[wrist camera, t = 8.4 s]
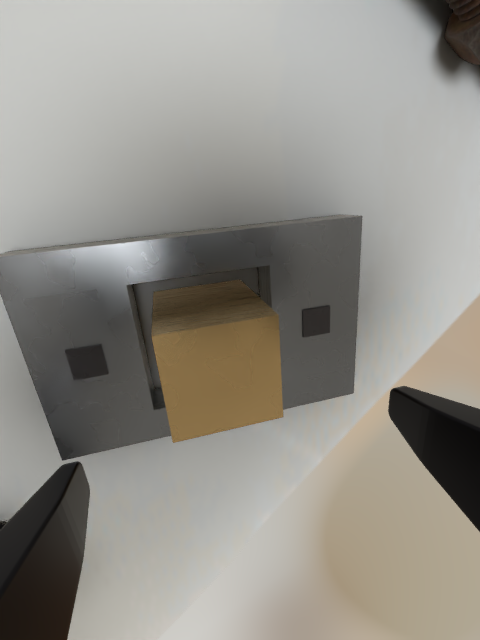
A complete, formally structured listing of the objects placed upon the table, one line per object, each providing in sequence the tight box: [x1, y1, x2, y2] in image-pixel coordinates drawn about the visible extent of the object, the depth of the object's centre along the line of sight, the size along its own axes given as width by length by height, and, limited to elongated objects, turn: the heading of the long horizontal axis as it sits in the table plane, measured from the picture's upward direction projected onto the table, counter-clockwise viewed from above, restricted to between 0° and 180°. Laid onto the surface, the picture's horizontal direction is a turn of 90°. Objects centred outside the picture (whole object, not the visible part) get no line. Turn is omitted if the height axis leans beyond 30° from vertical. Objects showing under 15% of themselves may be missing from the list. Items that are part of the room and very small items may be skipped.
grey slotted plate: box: [0, 215, 362, 460], centre depth 16 cm, size 10×16×2 cm, turn 96°
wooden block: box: [151, 280, 283, 443], centre depth 15 cm, size 4×4×6 cm
